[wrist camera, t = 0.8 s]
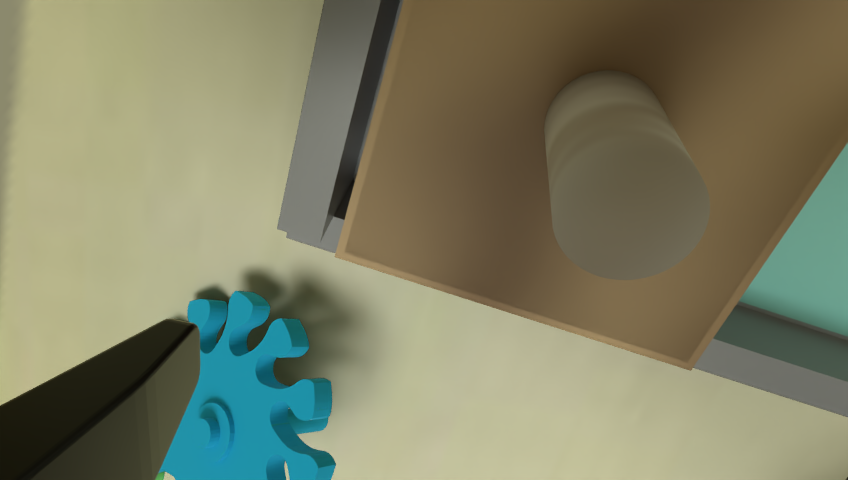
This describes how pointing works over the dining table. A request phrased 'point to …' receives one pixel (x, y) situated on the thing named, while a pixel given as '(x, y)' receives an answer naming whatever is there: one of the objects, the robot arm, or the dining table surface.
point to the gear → (248, 401)
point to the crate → (599, 156)
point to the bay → (746, 324)
